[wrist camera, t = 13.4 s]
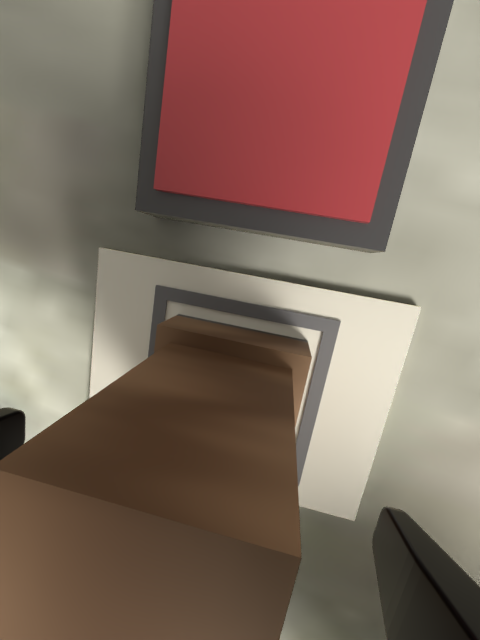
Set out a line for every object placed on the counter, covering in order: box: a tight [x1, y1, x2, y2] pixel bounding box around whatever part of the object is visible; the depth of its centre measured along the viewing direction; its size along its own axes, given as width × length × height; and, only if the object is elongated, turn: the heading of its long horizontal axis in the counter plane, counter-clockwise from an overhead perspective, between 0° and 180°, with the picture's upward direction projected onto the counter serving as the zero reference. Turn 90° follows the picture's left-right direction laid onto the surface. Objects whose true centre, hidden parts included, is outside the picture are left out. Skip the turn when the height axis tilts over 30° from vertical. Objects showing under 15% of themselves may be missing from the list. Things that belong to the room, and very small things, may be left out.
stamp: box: [0, 314, 312, 640], centre depth 8 cm, size 5×5×8 cm
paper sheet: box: [89, 247, 422, 521], centre depth 12 cm, size 12×9×1 cm
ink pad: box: [135, 0, 454, 253], centre depth 9 cm, size 8×7×2 cm
